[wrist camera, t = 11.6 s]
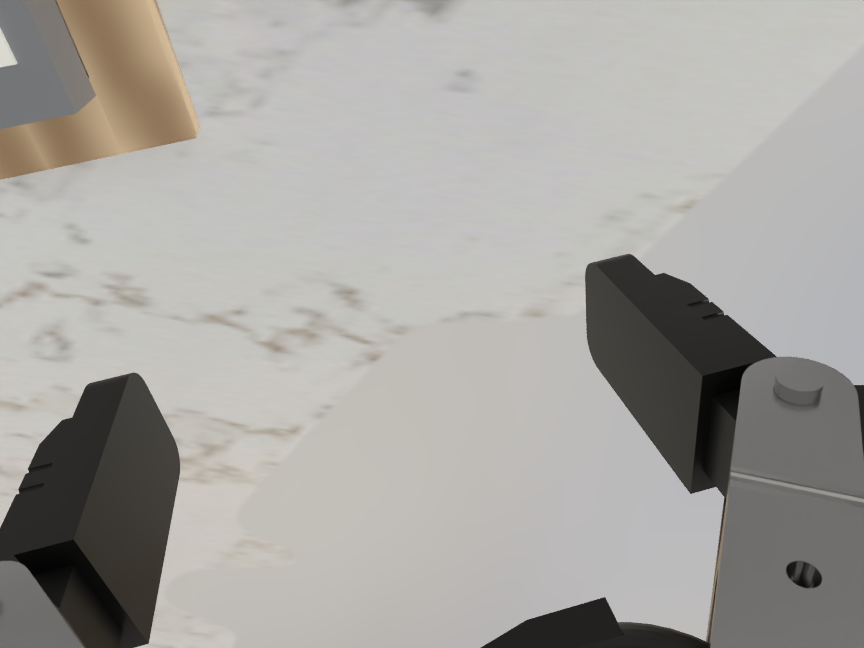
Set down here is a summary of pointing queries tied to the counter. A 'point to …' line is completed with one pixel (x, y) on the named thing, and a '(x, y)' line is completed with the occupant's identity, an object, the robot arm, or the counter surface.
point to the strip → (38, 64)
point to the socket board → (110, 92)
